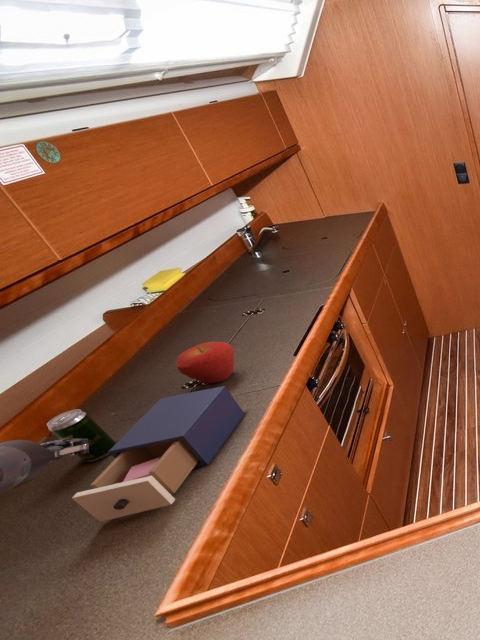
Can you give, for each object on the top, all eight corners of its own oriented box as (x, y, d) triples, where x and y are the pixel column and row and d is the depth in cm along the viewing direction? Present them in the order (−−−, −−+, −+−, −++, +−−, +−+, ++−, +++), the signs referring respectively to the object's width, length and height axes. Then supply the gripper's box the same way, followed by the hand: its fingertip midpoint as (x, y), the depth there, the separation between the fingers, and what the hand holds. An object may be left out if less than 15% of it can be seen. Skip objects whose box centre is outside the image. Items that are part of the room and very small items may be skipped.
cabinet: (208, 464, 92) (182, 435, 87) (138, 480, 89) (107, 451, 84) (244, 413, 105) (224, 385, 101) (185, 425, 102) (161, 397, 98)
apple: (188, 398, 111) (161, 364, 105) (202, 375, 119) (178, 342, 113) (240, 383, 115) (217, 350, 109) (250, 362, 124) (229, 330, 118)
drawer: (167, 510, 82) (143, 486, 78) (94, 527, 79) (65, 504, 75) (214, 447, 95) (194, 424, 91) (153, 460, 92) (130, 437, 89)
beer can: (102, 444, 98) (66, 409, 92) (125, 442, 98) (90, 407, 92) (76, 463, 93) (36, 428, 87) (100, 462, 94) (62, 426, 88)
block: (135, 496, 84) (121, 483, 81) (144, 479, 87) (131, 466, 85) (164, 485, 85) (152, 472, 83) (172, 470, 89) (160, 457, 87)
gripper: (57, 435, 65) (118, 414, 80) (-91, 461, 58) (7, 433, 73) (60, 482, 65) (121, 452, 79) (-88, 514, 58) (9, 475, 72)
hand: (66, 443), depth 76 cm, fingers closed
